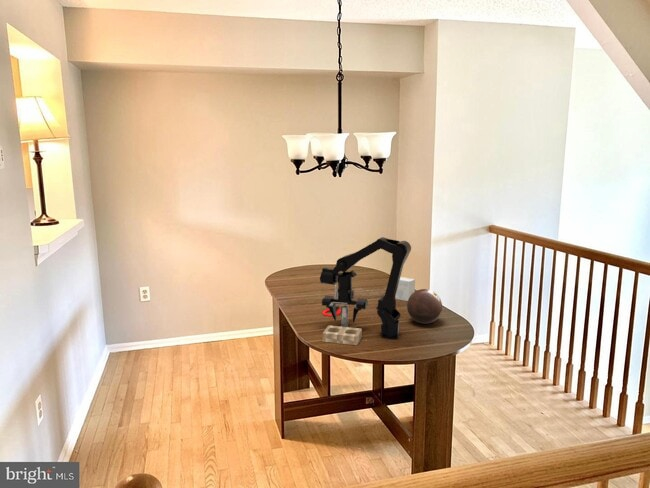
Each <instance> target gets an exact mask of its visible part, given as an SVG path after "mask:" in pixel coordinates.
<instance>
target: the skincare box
mask: <svg viewBox="0 0 650 488" xmlns="http://www.w3.org/2000/svg"><path fill="white" fill-rule="evenodd" d="M415 288H416V279H415V278H410V277H404V276H400V280H399V284H398V288H397V292H396V296H395V299H396V300H398V301H400V300H401V301H403V302H404V301H405V302H408V299H409V297H410V296H411V294H413V293H414V292H415V291H416V290H415Z"/></svg>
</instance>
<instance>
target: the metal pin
mask: <svg viewBox="0 0 650 488" xmlns="http://www.w3.org/2000/svg"><path fill="white" fill-rule="evenodd" d="M340 309H341V313H340V327H349V305H348V304H340Z"/></svg>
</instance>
